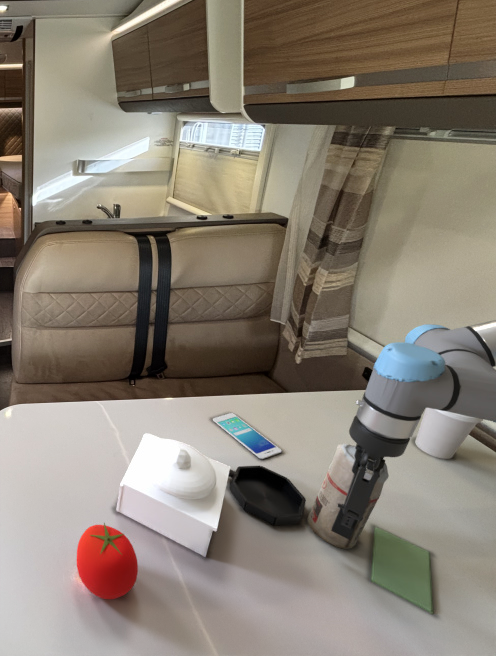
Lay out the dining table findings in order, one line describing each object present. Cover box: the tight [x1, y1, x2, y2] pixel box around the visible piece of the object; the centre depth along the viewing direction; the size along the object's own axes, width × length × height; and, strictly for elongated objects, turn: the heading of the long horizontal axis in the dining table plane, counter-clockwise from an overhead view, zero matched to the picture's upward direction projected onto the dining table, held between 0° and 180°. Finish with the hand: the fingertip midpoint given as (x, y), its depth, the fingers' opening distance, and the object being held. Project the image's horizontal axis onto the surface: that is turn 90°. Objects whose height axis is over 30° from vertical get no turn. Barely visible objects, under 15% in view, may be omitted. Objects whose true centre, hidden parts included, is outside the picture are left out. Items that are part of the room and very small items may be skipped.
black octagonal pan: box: [228, 465, 307, 527], centre depth 95 cm, size 22×13×3 cm, turn 47°
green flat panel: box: [370, 526, 434, 615], centre depth 79 cm, size 8×14×1 cm, turn 137°
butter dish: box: [115, 432, 231, 558], centre depth 89 cm, size 18×18×16 cm
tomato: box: [76, 522, 139, 600], centre depth 76 cm, size 10×11×11 cm
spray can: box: [307, 443, 389, 550], centre depth 83 cm, size 8×8×20 cm
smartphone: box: [212, 412, 283, 461], centre depth 110 cm, size 8×1×15 cm
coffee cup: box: [414, 408, 484, 460], centre depth 103 cm, size 10×10×15 cm
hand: (343, 514), depth 83 cm, fingers open, 10 cm apart
